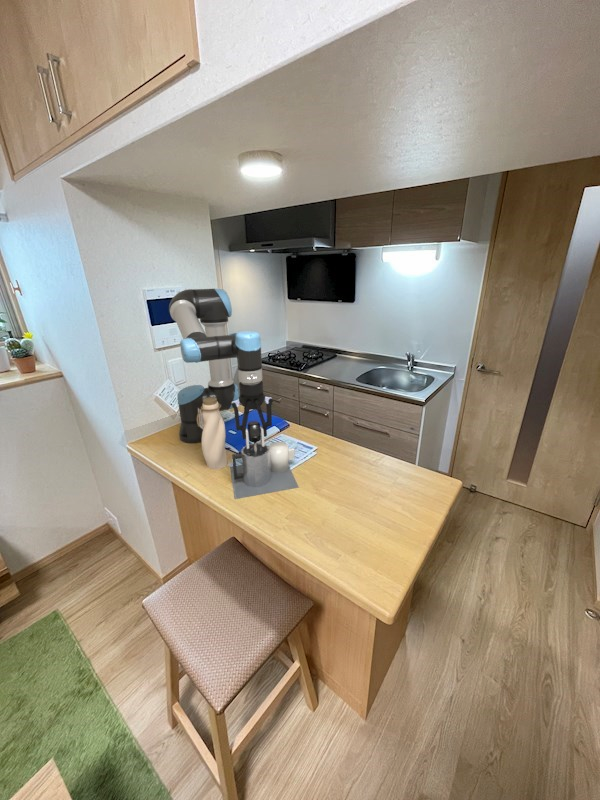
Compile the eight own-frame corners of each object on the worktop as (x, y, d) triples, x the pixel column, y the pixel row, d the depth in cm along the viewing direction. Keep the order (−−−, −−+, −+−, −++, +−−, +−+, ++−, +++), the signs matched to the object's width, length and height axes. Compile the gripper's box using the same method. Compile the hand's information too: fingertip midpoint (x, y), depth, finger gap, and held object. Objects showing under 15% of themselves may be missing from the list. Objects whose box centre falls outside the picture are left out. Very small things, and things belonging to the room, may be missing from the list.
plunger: (245, 468, 115) (241, 420, 108) (265, 465, 117) (262, 418, 110) (248, 480, 109) (243, 429, 102) (269, 476, 111) (266, 426, 104)
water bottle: (213, 477, 117) (204, 407, 107) (198, 469, 122) (188, 401, 112) (234, 464, 125) (227, 398, 115) (219, 457, 130) (212, 393, 120)
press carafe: (233, 475, 116) (230, 446, 112) (268, 469, 120) (266, 441, 115) (236, 491, 108) (233, 460, 103) (273, 484, 111) (271, 454, 107)
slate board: (230, 468, 122) (229, 466, 122) (285, 460, 128) (285, 458, 127) (234, 501, 104) (234, 499, 104) (298, 489, 110) (298, 487, 109)
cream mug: (267, 463, 123) (266, 443, 120) (292, 459, 126) (291, 439, 122) (271, 474, 116) (270, 453, 113) (297, 470, 119) (296, 449, 116)
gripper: (223, 387, 95) (230, 455, 103) (280, 382, 100) (282, 447, 108) (222, 380, 102) (228, 444, 110) (275, 375, 106) (277, 437, 115)
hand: (255, 445), depth 109 cm, fingers open, 4 cm apart
